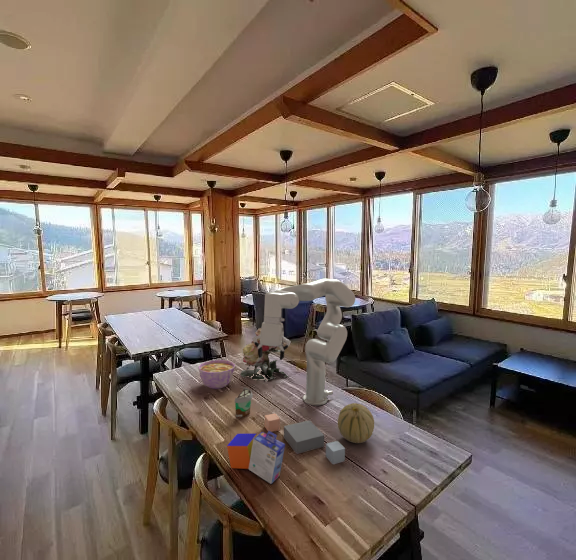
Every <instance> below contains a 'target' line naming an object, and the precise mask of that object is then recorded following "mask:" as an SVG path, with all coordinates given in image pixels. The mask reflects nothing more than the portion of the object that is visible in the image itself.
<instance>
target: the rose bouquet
mask: <svg viewBox="0 0 576 560" xmlns="http://www.w3.org/2000/svg"><path fill="white" fill-rule="evenodd" d="M260 333H261V327H259V328H258V329H257V330H256V331H255V335H256V336H259V335H260ZM256 336H255V337H256ZM257 342H258V343H259V344H260V338H259V339H257ZM277 348H278V347H276V346H266V345H262V357H261V358H259V355H258V348H257V347H256V345H255V344H254V341H253V340H251V343H248V344H246V345H245V346H244V347H243V349H242V354H243V355H242V356H243V357H242V362H243V363H245V366H246V369H243V370H241V371H240V376H241V377H243V378H246V377H245V376H249V377H251V376H253V374H254V376H253V377H252V379H251V380H253V379H264V377H263V376H262V375H265V376H266V375H268V376H269V377H270V379H268V382H269V380H275V379H276V378H275V377H276V376H273V375H274V373H275V374H281V375H284V378H289V377H288V376H289V375H288V374H287V375H288V376H287V375H286V372H285V371H281V372H279V371H280V368H279V367H277V361H278V359H275V360H272V361H270V358H269V354H271V353H280V351H281V349H277ZM251 366H252V367H254V368H253V369H254V370H250V367H251ZM258 368H261V370H262V372H263V373H262V375H259V374H257V372H258V371H259V370H260V369H258ZM256 375H257V376H256ZM269 377H268V378H269ZM274 378H275V379H274Z"/></svg>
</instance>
